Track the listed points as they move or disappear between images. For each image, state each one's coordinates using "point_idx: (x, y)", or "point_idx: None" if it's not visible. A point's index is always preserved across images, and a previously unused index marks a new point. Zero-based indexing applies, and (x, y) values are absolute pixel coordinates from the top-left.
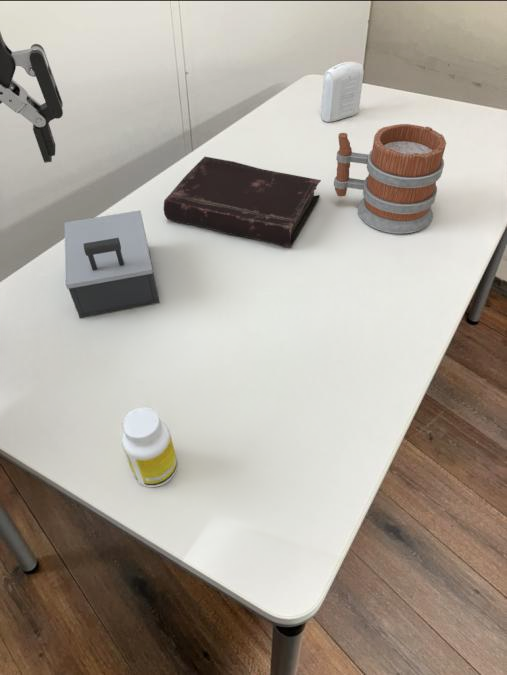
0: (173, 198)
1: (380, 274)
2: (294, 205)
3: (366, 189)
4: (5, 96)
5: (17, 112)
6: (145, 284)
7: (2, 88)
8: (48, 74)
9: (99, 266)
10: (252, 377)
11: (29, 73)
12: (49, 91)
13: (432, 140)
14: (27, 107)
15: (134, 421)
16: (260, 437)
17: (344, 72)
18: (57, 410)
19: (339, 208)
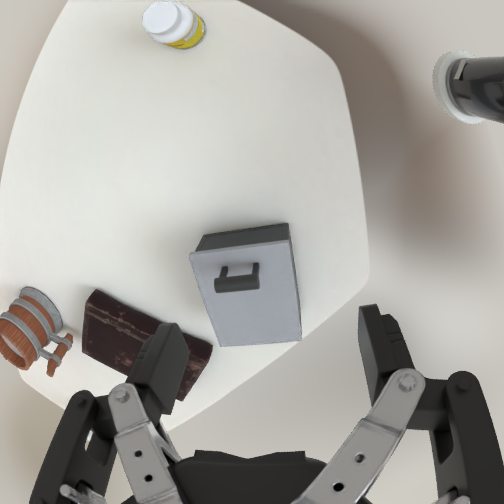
0: (199, 361)
1: (35, 247)
2: (90, 328)
3: (44, 328)
4: (142, 466)
5: (143, 422)
6: (206, 247)
7: (136, 487)
8: (41, 470)
9: (251, 268)
10: (107, 131)
11: (87, 494)
12: (61, 441)
13: (3, 347)
14: (123, 429)
15: (165, 16)
16: (102, 69)
17: (91, 435)
18: (293, 97)
19: (74, 326)
